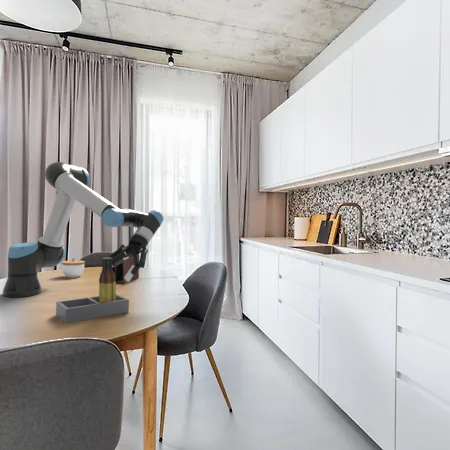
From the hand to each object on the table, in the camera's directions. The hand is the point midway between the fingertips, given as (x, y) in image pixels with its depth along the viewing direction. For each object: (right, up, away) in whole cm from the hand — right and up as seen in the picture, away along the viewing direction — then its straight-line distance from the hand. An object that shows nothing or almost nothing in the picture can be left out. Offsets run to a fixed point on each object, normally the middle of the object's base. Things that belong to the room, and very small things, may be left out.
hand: (113, 278), depth 127 cm
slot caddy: (-6, -13, -5) cm, 15 cm away
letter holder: (-15, -12, +60) cm, 63 cm away
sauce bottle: (-2, -12, -1) cm, 12 cm away
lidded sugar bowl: (-48, -10, +67) cm, 83 cm away
